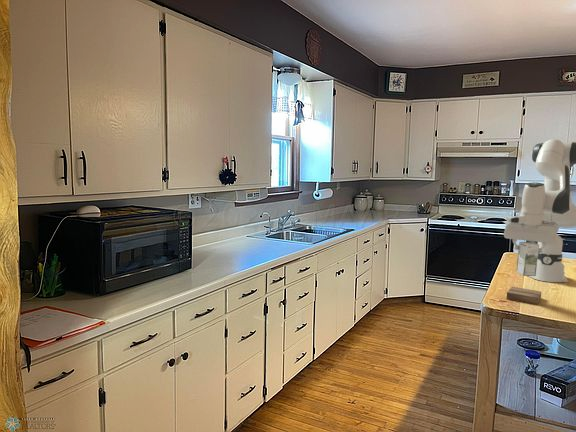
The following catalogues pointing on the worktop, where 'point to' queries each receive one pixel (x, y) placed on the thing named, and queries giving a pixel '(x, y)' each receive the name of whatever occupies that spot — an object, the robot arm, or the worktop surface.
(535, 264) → the syrup box
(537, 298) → the walnut base
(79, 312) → the worktop surface
